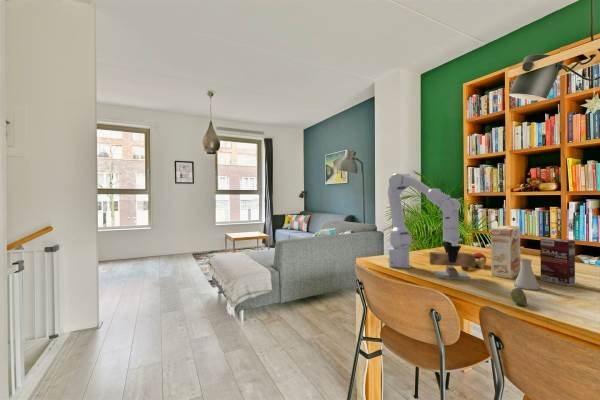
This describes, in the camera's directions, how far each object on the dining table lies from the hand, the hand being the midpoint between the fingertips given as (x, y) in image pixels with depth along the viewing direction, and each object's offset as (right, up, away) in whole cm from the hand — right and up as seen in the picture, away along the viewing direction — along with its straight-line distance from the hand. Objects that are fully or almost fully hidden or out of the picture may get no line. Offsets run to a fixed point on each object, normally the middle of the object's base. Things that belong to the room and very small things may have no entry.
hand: (451, 260), depth 113 cm
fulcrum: (0, -6, 0) cm, 6 cm away
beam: (0, -2, 0) cm, 2 cm away
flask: (+18, -6, -15) cm, 25 cm away
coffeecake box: (+24, -6, +2) cm, 25 cm away
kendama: (+17, -6, +13) cm, 22 cm away
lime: (+4, -7, -31) cm, 32 cm away
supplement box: (+33, -6, -11) cm, 36 cm away
